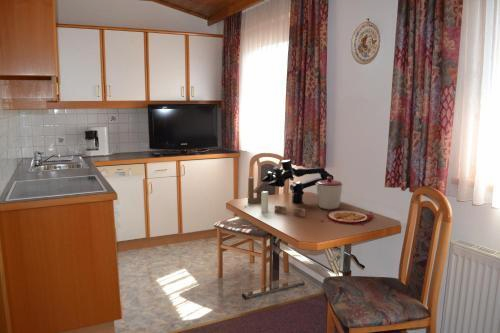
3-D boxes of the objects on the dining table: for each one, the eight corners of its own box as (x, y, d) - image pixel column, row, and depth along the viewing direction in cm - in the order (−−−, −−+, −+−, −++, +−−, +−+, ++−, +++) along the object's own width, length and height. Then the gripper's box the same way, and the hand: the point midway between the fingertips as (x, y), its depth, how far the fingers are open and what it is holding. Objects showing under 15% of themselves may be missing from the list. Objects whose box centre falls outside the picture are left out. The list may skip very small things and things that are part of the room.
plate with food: (331, 213, 262) (331, 207, 261) (373, 216, 250) (373, 211, 250) (320, 223, 240) (320, 217, 240) (366, 228, 228) (366, 221, 228)
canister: (319, 203, 284) (319, 173, 281) (345, 206, 276) (346, 175, 273) (311, 209, 268) (312, 177, 265) (339, 212, 260) (340, 179, 257)
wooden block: (263, 202, 289) (263, 177, 286) (249, 203, 284) (249, 178, 282) (261, 200, 292) (261, 176, 290) (247, 202, 288) (247, 177, 285)
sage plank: (264, 210, 266) (264, 191, 264) (268, 211, 264) (268, 191, 262) (261, 211, 262) (261, 192, 260) (265, 212, 261) (265, 192, 259)
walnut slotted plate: (274, 212, 259) (274, 206, 259) (275, 212, 261) (275, 205, 260) (304, 216, 250) (304, 209, 249) (305, 216, 251) (305, 209, 251)
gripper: (276, 162, 286) (256, 168, 280) (290, 168, 270) (270, 175, 264) (278, 176, 290) (258, 182, 284) (292, 184, 274) (272, 190, 268)
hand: (264, 182), depth 274 cm, fingers open, 9 cm apart
